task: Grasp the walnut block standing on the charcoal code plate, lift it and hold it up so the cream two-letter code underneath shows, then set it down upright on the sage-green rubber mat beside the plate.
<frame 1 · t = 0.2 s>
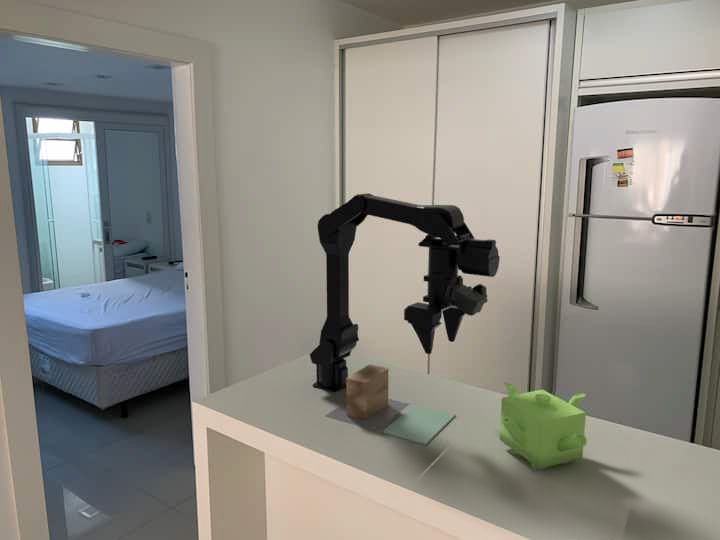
hand: (440, 347, 113), 14 cm above the worktop, fingers open, 9 cm apart
green mat: (420, 424, 110), on the worktop
walnut block: (367, 409, 117), resting on code plate
green knobbed block: (540, 455, 99), on the worktop
code plate: (367, 410, 117), on the worktop
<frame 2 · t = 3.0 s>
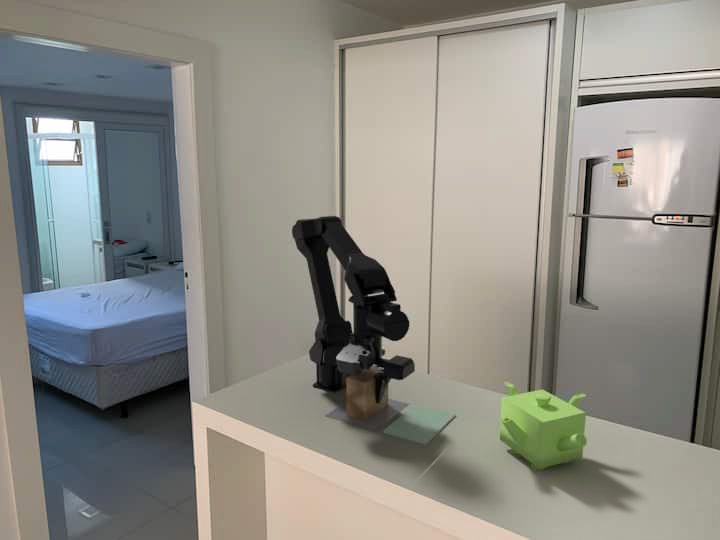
hand: (367, 400, 116), 2 cm above the worktop, fingers closed on walnut block, 5 cm apart
walnut block: (367, 409, 117), resting on code plate, touching gripper
everything else where it was.
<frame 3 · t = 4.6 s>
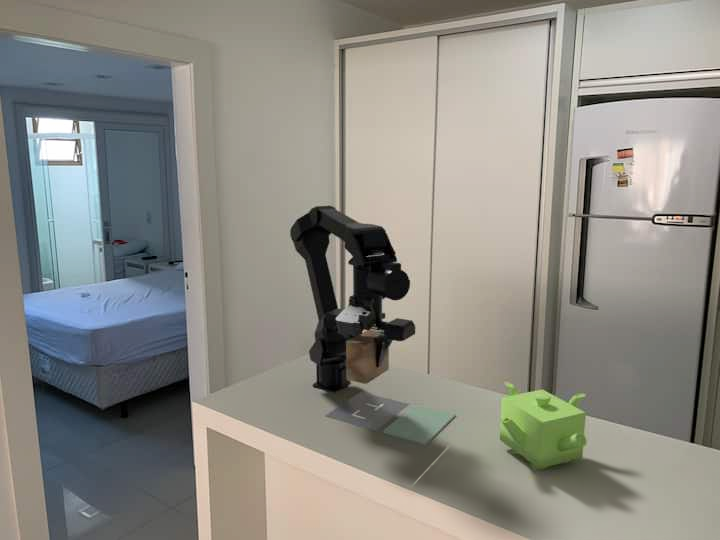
hand: (367, 364, 115), 10 cm above the worktop, fingers closed on walnut block, 5 cm apart
walnut block: (368, 374, 115), point 8 cm above the worktop, touching gripper
everything else where it was.
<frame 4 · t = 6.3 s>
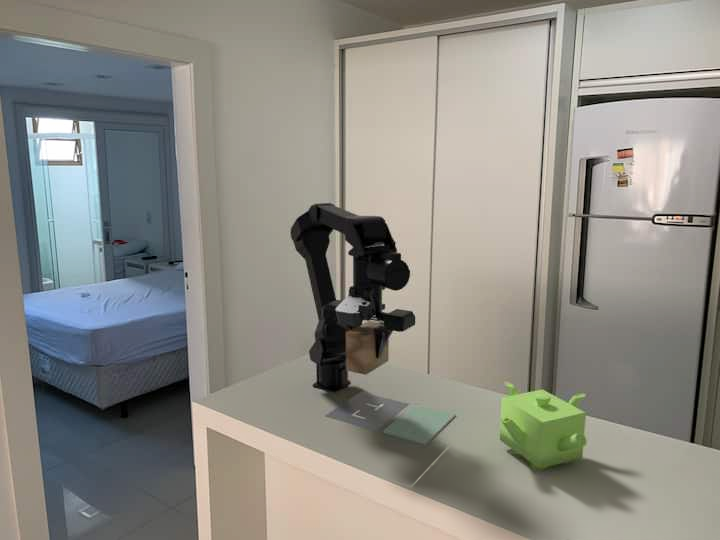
hand: (367, 355, 114), 12 cm above the worktop, fingers closed on walnut block, 5 cm apart
walnut block: (367, 365, 115), point 10 cm above the worktop, touching gripper
everything else where it was.
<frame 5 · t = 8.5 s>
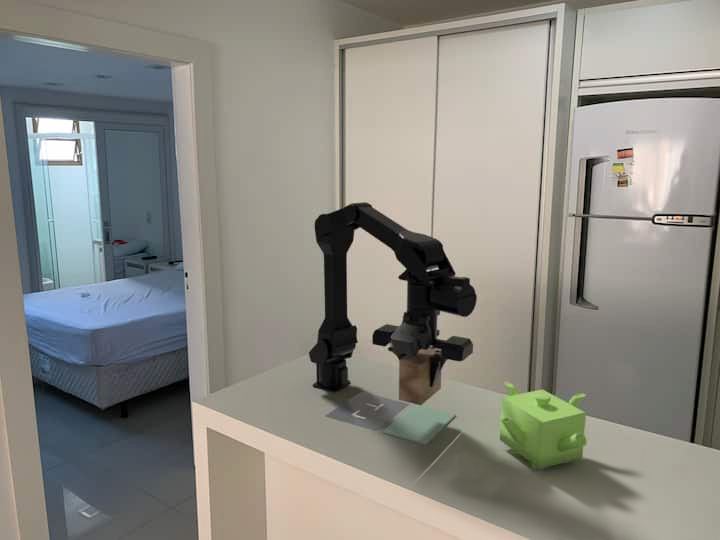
hand: (420, 384, 109), 8 cm above the worktop, fingers closed on walnut block, 5 cm apart
walnut block: (420, 394, 109), point 6 cm above the worktop, touching gripper
everything else where it was.
when the fingers open (4 cm above the worktop, at t = 10.1 s): walnut block drops 1 cm, resting on green mat.
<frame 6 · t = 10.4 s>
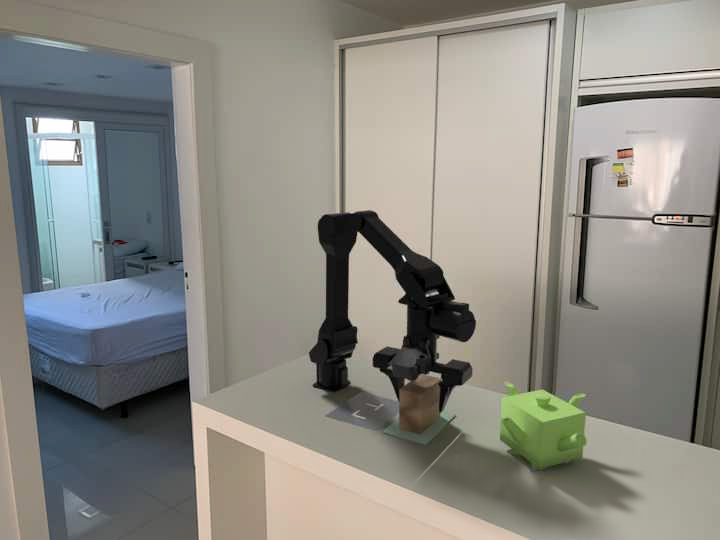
hand: (420, 406, 110), 4 cm above the worktop, fingers open, 8 cm apart
walnut block: (420, 422, 110), resting on green mat
everything else where it was.
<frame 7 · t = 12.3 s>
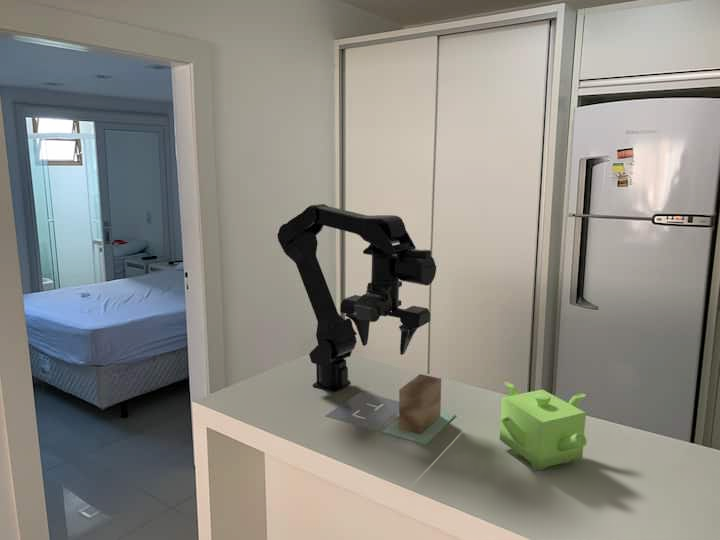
hand: (383, 349, 119), 12 cm above the worktop, fingers open, 9 cm apart
nothing on the worktop moved.
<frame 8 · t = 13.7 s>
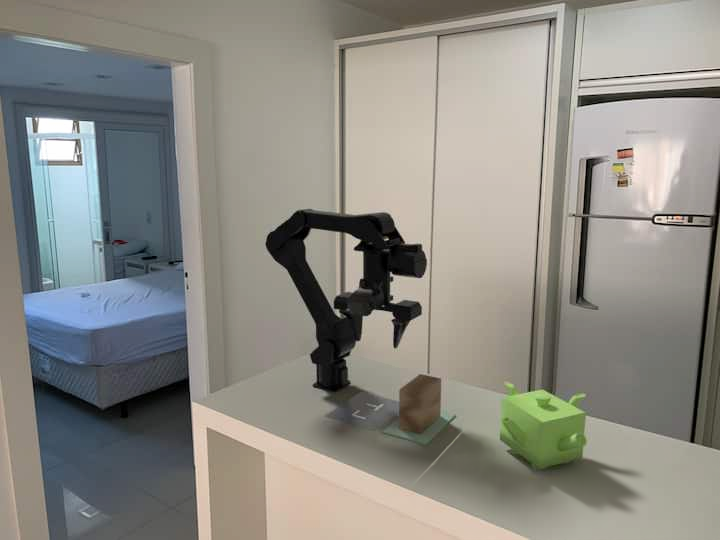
hand: (376, 344, 121), 12 cm above the worktop, fingers open, 9 cm apart
nothing on the worktop moved.
at the end: walnut block inside the target area on the green mat (0.0 cm from its centre), point 0.5 cm above the green mat's base; walnut block tilted 0°; the gripper is holding nothing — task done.
